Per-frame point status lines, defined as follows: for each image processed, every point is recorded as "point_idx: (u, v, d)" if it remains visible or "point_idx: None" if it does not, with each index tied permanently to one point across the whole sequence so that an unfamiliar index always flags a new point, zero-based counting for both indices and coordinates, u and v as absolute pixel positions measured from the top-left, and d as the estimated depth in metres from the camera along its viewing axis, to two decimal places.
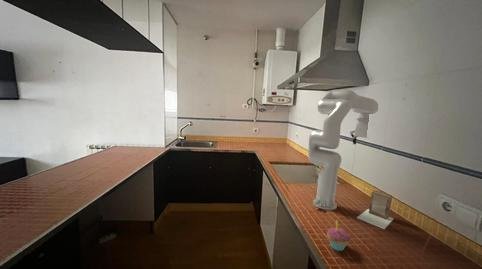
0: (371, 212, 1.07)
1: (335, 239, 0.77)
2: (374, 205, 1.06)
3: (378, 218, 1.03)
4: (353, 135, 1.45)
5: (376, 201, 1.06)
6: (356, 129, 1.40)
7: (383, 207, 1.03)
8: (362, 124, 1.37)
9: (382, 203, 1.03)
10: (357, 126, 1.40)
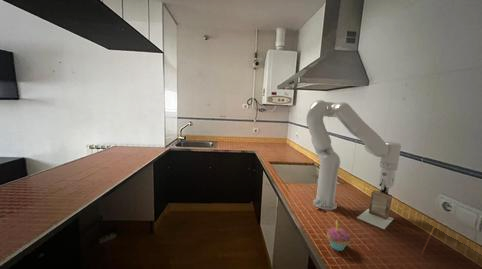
0: (371, 212, 1.07)
1: (335, 239, 0.77)
2: (374, 205, 1.06)
3: (378, 218, 1.03)
4: None
5: (376, 201, 1.06)
6: (390, 180, 1.03)
7: (383, 207, 1.03)
8: (393, 171, 1.04)
9: (382, 203, 1.03)
10: (391, 175, 1.03)
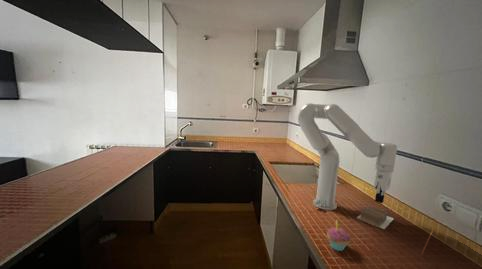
0: None
1: (335, 239, 0.77)
2: None
3: None
4: None
5: None
6: (386, 182, 0.98)
7: None
8: (389, 174, 1.00)
9: None
10: (387, 178, 0.98)
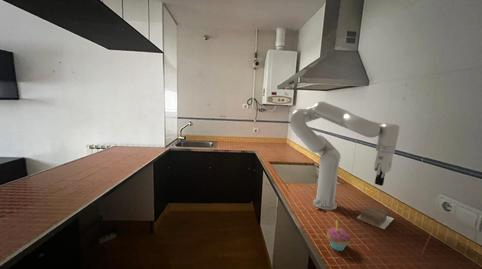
0: None
1: (335, 239, 0.77)
2: None
3: None
4: None
5: None
6: (386, 163, 0.95)
7: None
8: (390, 155, 0.97)
9: None
10: (388, 159, 0.95)
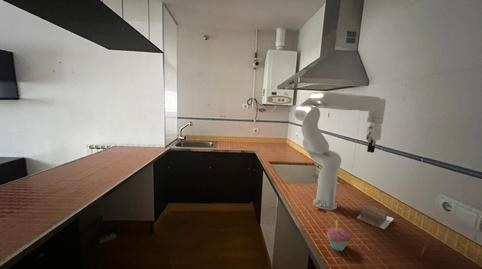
0: None
1: (335, 239, 0.77)
2: None
3: None
4: None
5: None
6: (376, 132, 1.12)
7: None
8: (379, 125, 1.14)
9: None
10: (377, 128, 1.12)
